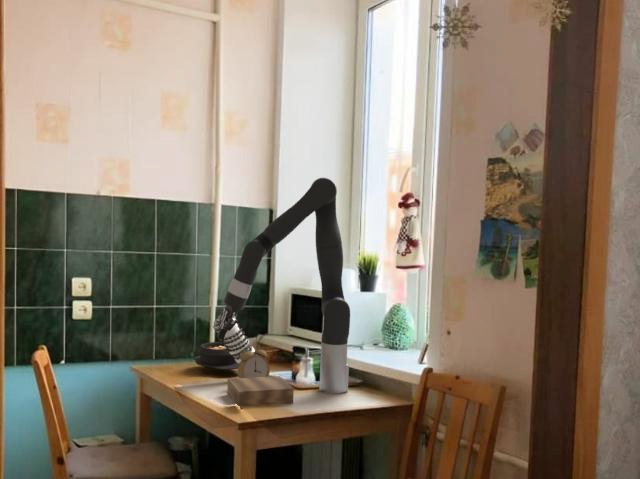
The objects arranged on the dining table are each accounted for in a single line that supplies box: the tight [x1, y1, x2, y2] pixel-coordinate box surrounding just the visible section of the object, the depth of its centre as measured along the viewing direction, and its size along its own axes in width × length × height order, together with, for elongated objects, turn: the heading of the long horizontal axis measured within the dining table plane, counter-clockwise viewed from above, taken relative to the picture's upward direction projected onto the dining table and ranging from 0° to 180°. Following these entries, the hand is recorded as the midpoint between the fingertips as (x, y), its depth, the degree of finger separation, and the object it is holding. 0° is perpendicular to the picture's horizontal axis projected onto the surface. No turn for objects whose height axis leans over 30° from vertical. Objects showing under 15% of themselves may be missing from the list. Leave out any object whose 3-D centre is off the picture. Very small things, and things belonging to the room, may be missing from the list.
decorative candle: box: [212, 315, 257, 366], centre depth 248 cm, size 9×9×25 cm
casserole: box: [193, 341, 238, 371], centre depth 267 cm, size 25×19×8 cm
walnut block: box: [226, 375, 295, 407], centre depth 223 cm, size 18×16×6 cm
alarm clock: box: [237, 343, 270, 378], centre depth 240 cm, size 11×5×15 cm, turn 126°
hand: (219, 338), depth 239 cm, fingers closed
